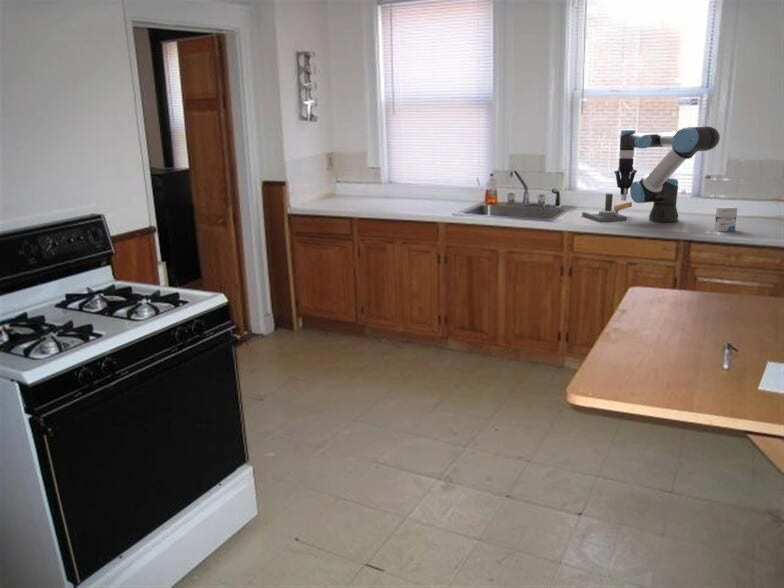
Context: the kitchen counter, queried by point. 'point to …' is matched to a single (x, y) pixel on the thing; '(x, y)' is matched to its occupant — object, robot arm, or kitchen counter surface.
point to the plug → (608, 204)
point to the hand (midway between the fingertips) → (623, 200)
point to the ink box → (725, 218)
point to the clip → (622, 206)
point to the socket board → (604, 216)
